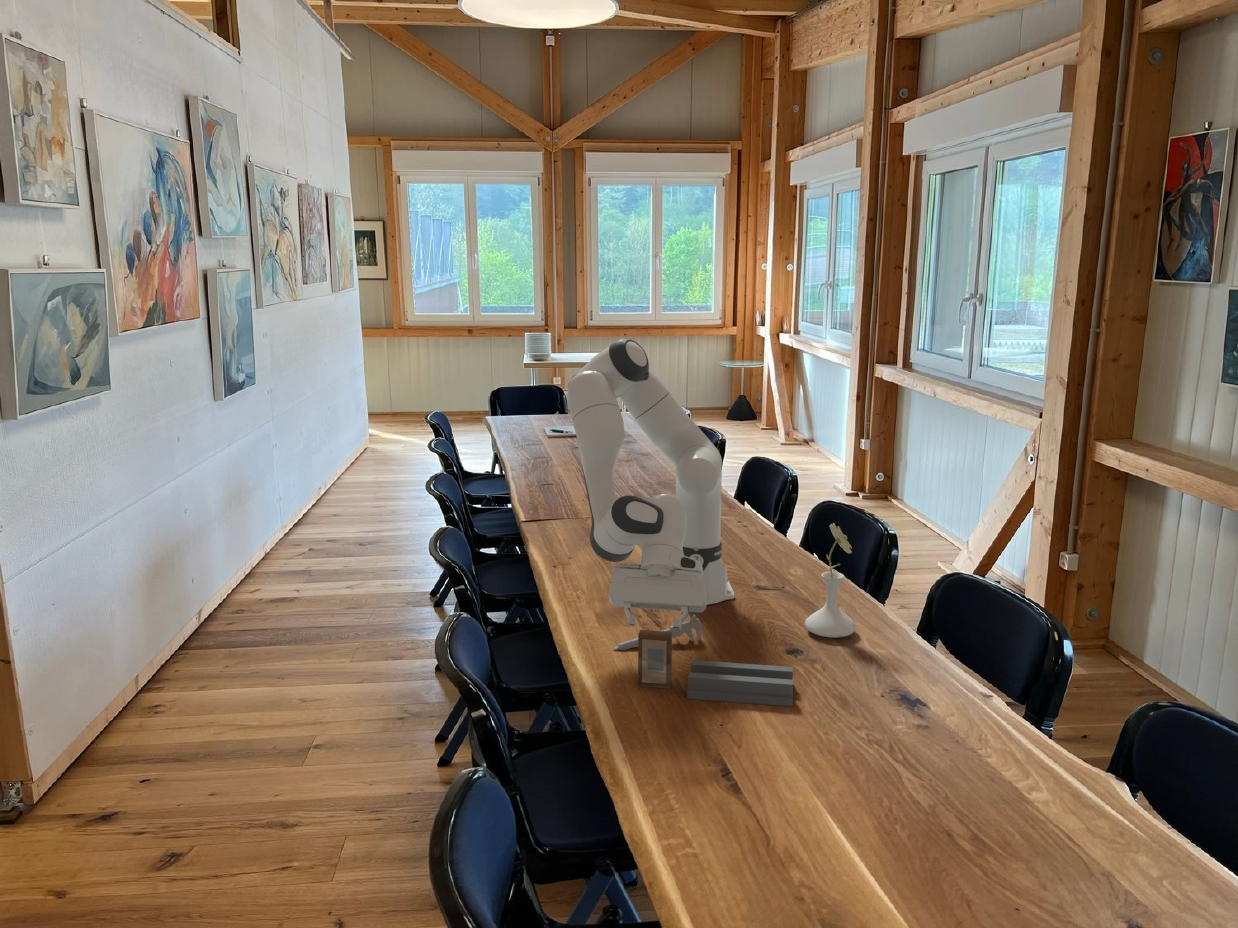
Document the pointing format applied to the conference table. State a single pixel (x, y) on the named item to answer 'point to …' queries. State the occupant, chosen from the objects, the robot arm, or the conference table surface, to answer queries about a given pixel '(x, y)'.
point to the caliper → (675, 633)
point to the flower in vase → (832, 600)
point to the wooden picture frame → (654, 658)
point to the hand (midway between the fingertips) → (653, 627)
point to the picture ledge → (741, 683)
